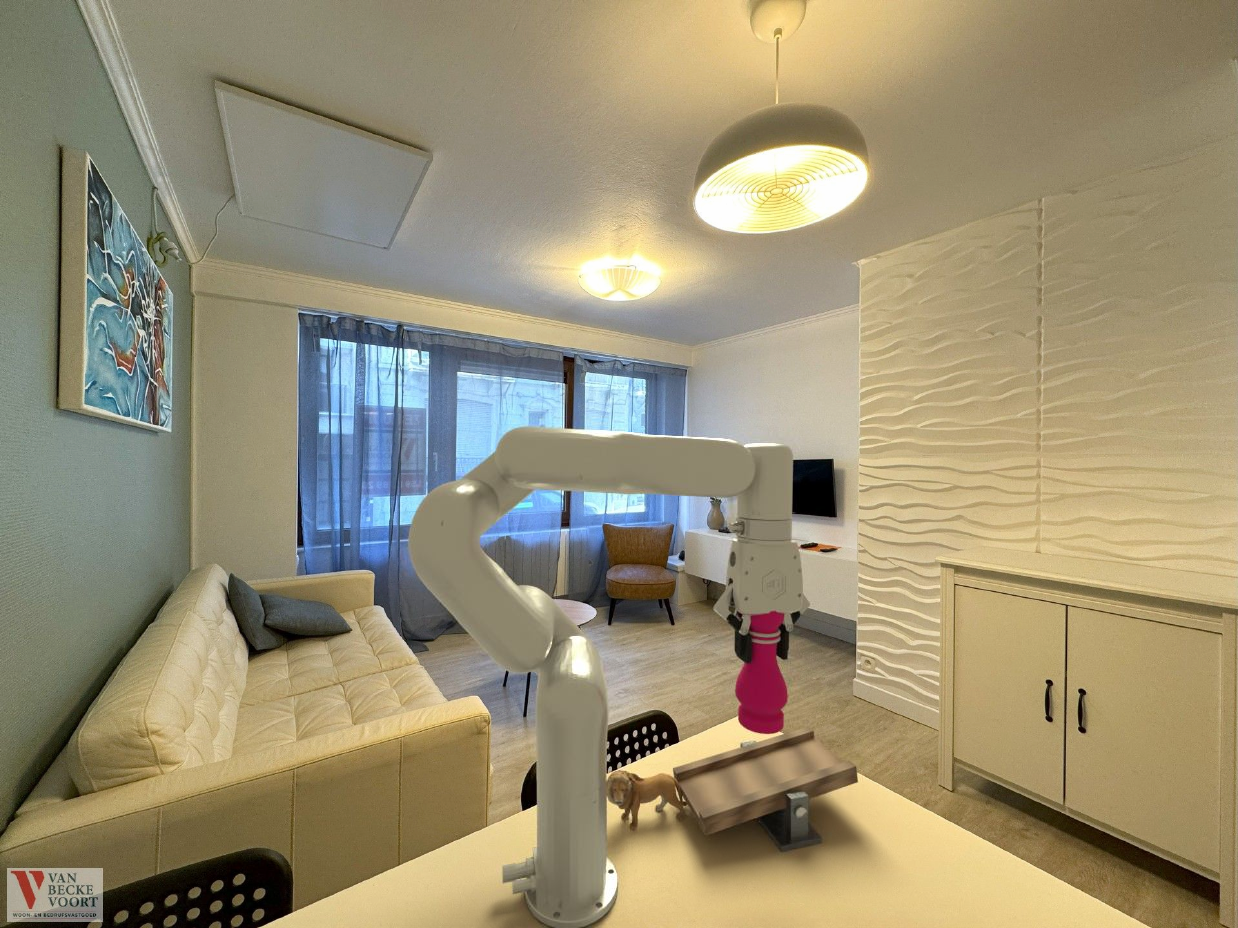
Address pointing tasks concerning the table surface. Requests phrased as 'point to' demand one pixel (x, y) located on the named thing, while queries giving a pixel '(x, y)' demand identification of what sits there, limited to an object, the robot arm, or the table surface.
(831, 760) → the balance beam
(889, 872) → the table surface
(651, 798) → the lion figurine
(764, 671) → the pepper mill
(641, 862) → the table surface
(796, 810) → the beam stand
